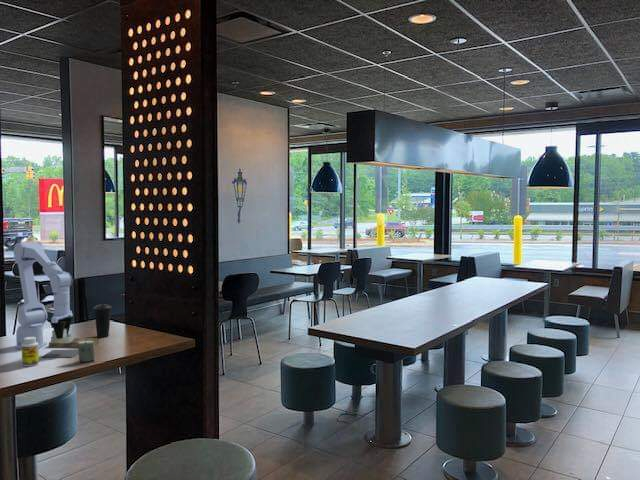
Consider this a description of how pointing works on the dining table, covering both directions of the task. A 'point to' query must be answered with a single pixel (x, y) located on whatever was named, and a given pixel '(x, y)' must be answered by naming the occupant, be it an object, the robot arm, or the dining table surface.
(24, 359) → the supplement bottle
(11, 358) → the dining table surface
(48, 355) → the mat
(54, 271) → the robot arm
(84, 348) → the small box
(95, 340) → the body
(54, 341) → the grey stepped block
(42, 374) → the dining table surface
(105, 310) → the drinking cup
